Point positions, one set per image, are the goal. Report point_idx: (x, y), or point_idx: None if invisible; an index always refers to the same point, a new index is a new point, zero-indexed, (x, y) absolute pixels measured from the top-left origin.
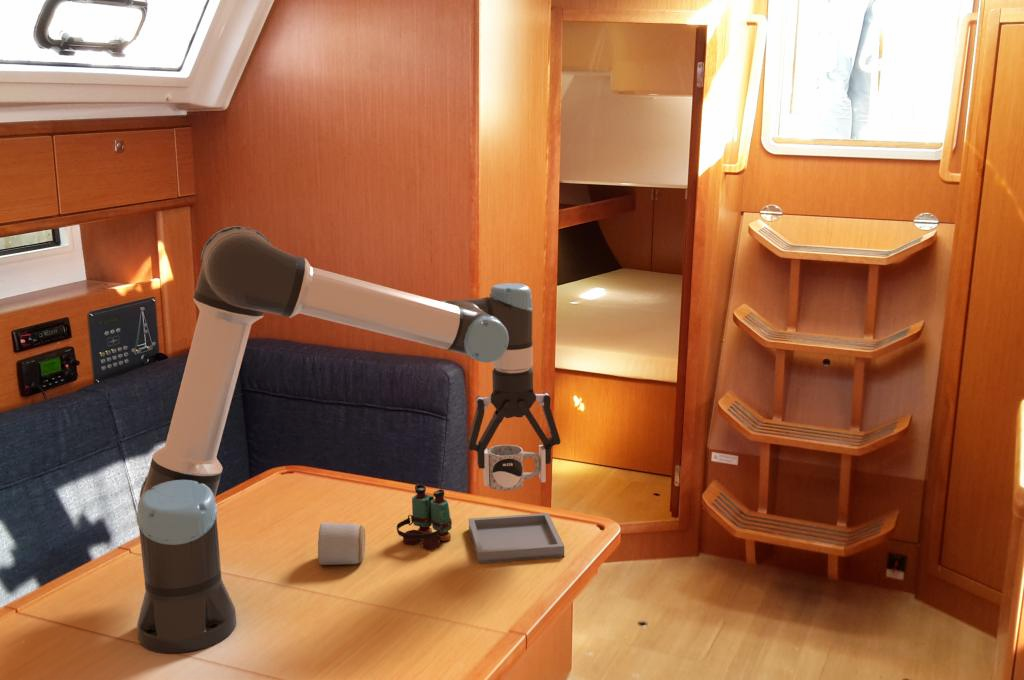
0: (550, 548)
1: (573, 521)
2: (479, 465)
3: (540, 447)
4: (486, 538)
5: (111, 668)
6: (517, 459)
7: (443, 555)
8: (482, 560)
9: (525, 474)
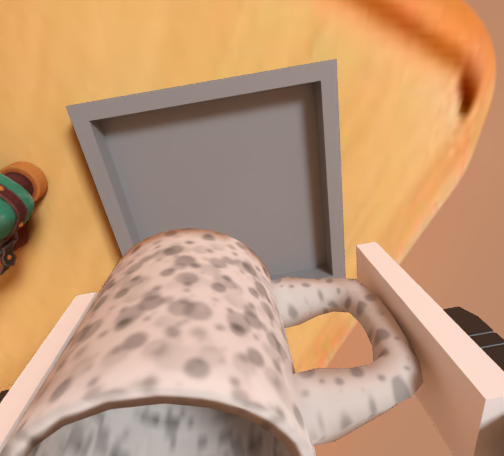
0: None
1: (402, 46)
2: None
3: (478, 441)
4: (149, 194)
5: None
6: None
7: (60, 268)
8: None
9: (292, 321)
